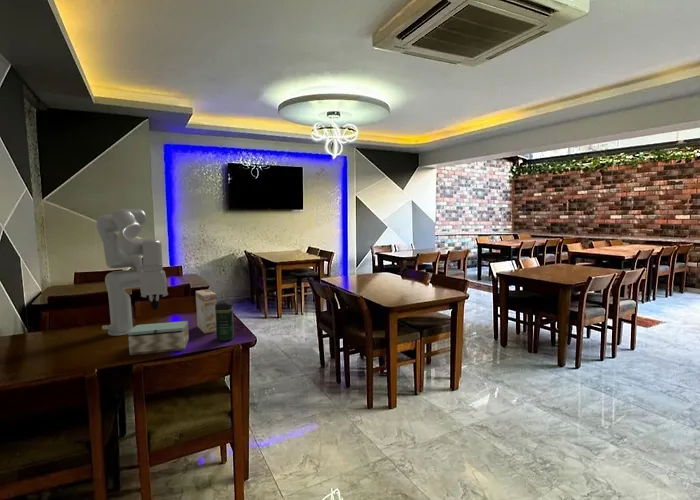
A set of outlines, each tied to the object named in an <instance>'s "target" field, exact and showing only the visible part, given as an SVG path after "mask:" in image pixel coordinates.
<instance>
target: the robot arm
mask: <svg viewBox="0 0 700 500" xmlns="http://www.w3.org/2000/svg"><path fill="white" fill-rule="evenodd" d="M147 220H148V219H147V214H146V213H145V211H144V210H142V209H141V208H120V209H116V210H114V211H113V213H112V214H105V215H101V216H98V218H97V219H96V230H97V233H98V235H99V237H100V239H101V242H102V245H103V251H104V252H103V253H104V258H105V263H106V266H107V268H109V269H123V270H117V271H116V270H115V271H111V272H109V273H107V274H106V275H105V277H104V283H105V287H106V291H107V294H108V295H107V296H108V304H109V307H108V308H109V317H110V319H109V320H110V324H109V325H102V327H101V330H102V331H107V334H108V335H109V336H112V337H113V336H114V337H117V336H126V335H128V332H129V331H130V330H132V329H133V328H134V327H135V326H134V325H133V315H132V314H133V313H132V303H131V302H132V300H131V299H132V298H131V296H130V294H129V293H128V292H127V291H125V290H127V289H134V288H140V297H142V298H146V299H148V300H149V301H150V307H151V309H152V311H158V309H159V308H160V300H161V299H162V298H163V297H166V296H168V295H169V292H168V283H167V281H168V280H167V277H166V271H165V270H164V267H163V254H162V253H163V252H162V251H163V250H162V242H161V240H159V239H156V238H153V237H147V238H146V237H145V238H137V237H138V236H139V235H140V234H141V232H142V227H143V226H145V225H146V223H147ZM116 232H119V233H118V234H117V233H116ZM125 268H130V269H125ZM124 269H125V270H124ZM155 295H156V296H155Z"/></svg>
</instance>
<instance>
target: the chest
mask: <svg viewBox="0 0 700 500" xmlns="http://www.w3.org/2000/svg"><path fill="white" fill-rule="evenodd" d="M189 341H190V337H189V323H188V324H187V326H186V327H185V329H184V330H183V331H172V332H160V333H149V334H137V335H128V351H129V355H130V356H135V355H146V354H157V353H167V352H176V351H185V349H186V347H187V345H188V343H189Z"/></svg>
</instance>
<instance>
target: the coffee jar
mask: <svg viewBox="0 0 700 500" xmlns="http://www.w3.org/2000/svg"><path fill="white" fill-rule="evenodd" d="M215 313H216V332H215V333H216V341H220V342H227V341H232V340H233V339H234V336H235V330H234V325H235V324H234V304H233V301H232V300H230V299H221V300H219V301H218V302H217V303H216V305H215Z"/></svg>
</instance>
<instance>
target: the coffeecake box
mask: <svg viewBox="0 0 700 500" xmlns="http://www.w3.org/2000/svg"><path fill="white" fill-rule="evenodd" d="M216 303H217V293H215V292H214V291H211V290H210V289H200V290H195V305H196V307H195V308H196V323H197V325H196V326H197V328H199V329H200V331H201V332H203V333H204V334H209V333H216V313H215V305H216Z"/></svg>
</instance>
